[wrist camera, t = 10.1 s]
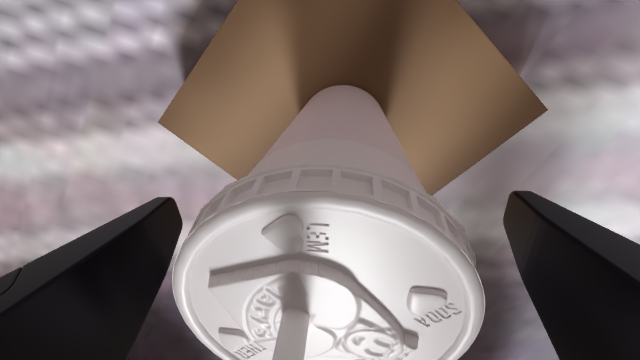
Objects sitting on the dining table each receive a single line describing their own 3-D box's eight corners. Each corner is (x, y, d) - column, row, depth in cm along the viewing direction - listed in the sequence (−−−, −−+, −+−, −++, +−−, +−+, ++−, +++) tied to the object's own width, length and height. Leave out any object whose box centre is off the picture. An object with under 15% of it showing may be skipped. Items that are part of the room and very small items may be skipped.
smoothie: (301, 21, 13) (-301, 650, 1) (448, 91, 14) (963, 855, 2) (253, 155, 16) (-21, 656, 5) (373, 204, 17) (402, 731, 5)
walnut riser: (509, 82, 17) (548, 109, 14) (346, 215, 23) (346, 258, 19) (338, -118, 14) (334, -147, 10) (192, 95, 19) (157, 122, 16)
